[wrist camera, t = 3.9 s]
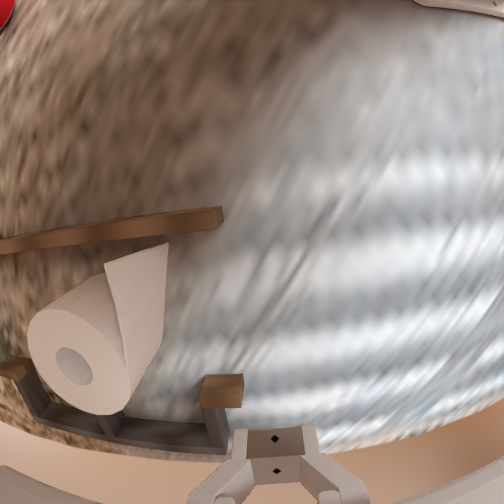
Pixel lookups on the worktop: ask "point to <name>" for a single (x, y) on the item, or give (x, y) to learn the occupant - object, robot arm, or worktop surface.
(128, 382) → the toilet paper
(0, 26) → the beverage can
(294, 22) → the worktop surface
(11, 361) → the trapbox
